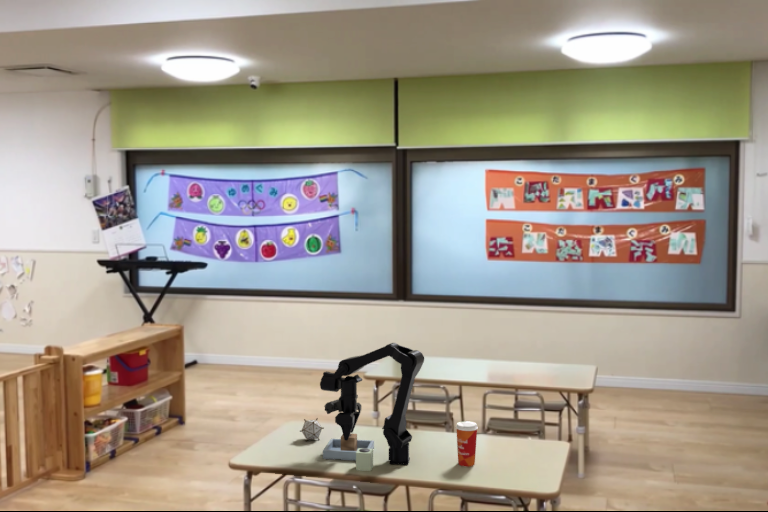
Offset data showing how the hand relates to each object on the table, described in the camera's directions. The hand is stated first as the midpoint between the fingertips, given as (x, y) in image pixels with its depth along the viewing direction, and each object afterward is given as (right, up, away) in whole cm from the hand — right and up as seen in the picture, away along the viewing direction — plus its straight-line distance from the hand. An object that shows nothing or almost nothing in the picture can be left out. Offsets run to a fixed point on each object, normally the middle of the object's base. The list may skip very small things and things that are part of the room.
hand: (348, 436), depth 271 cm
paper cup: (+41, -7, -11) cm, 43 cm away
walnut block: (0, -6, 0) cm, 6 cm away
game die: (-15, -6, +17) cm, 23 cm away
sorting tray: (0, -6, 0) cm, 6 cm away
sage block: (+6, -7, -15) cm, 17 cm away
